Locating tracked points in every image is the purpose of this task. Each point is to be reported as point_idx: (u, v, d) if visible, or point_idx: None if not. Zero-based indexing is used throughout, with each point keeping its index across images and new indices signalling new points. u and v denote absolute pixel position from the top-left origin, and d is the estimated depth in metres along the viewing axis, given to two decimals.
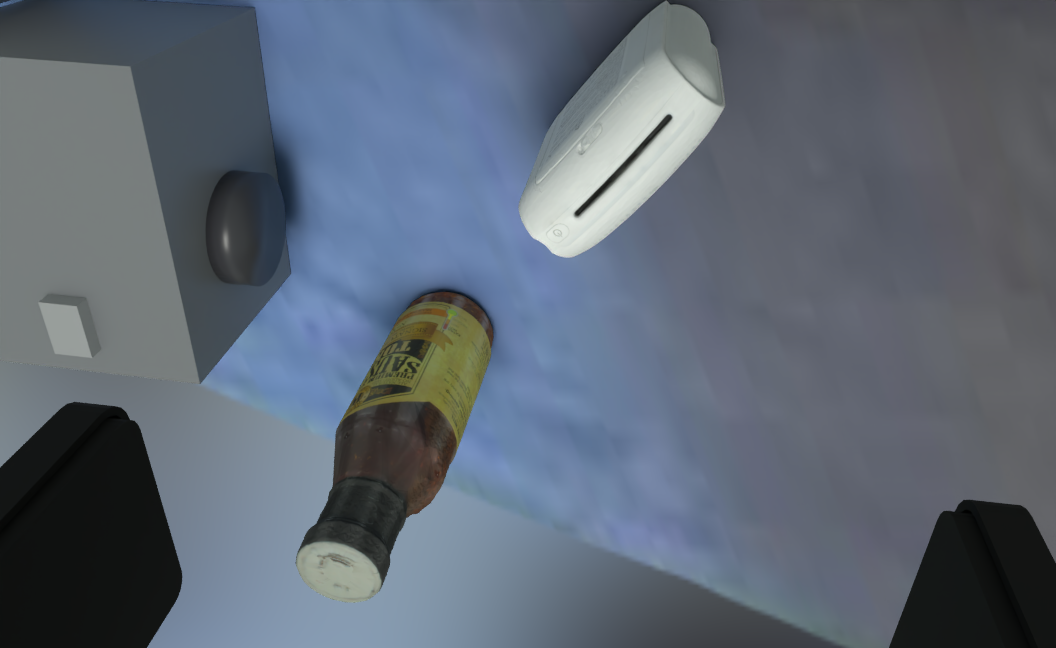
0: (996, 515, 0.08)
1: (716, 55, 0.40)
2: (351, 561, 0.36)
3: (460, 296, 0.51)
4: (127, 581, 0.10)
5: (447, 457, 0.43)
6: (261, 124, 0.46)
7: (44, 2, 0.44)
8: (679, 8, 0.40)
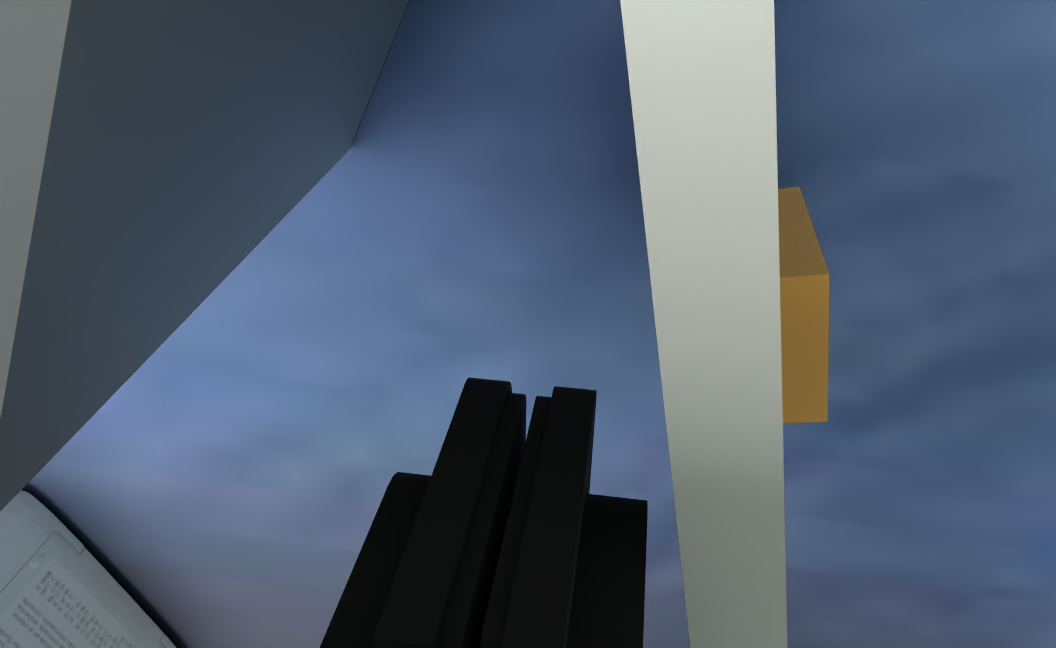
0: (567, 396, 0.10)
1: None
2: None
3: None
4: None
5: None
6: None
7: None
8: None
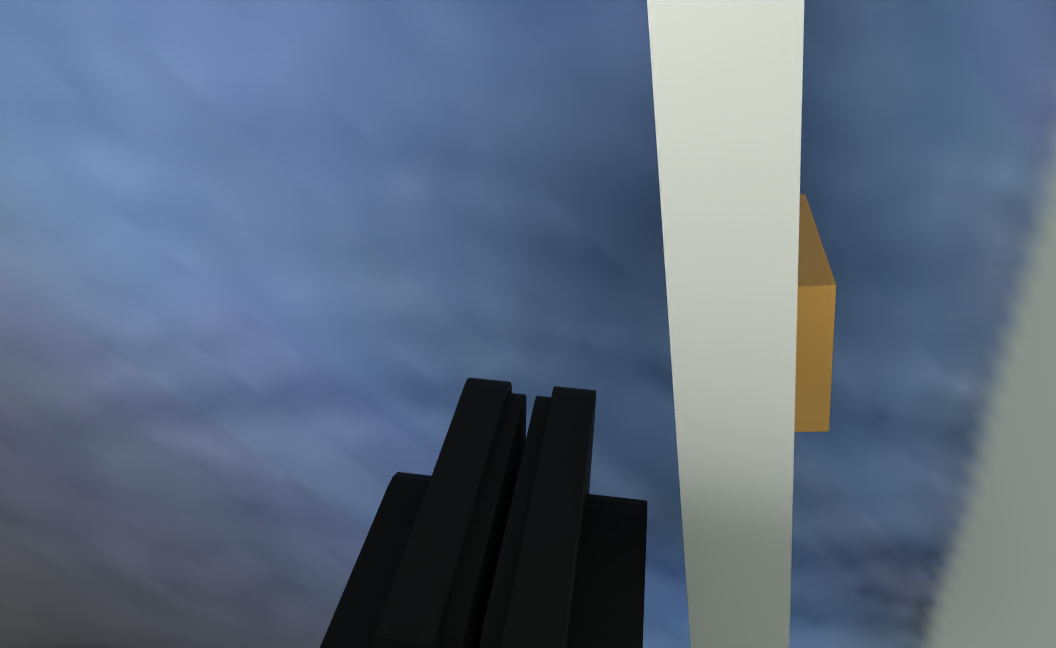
0: (567, 396, 0.10)
1: None
2: None
3: None
4: None
5: None
6: None
7: None
8: None
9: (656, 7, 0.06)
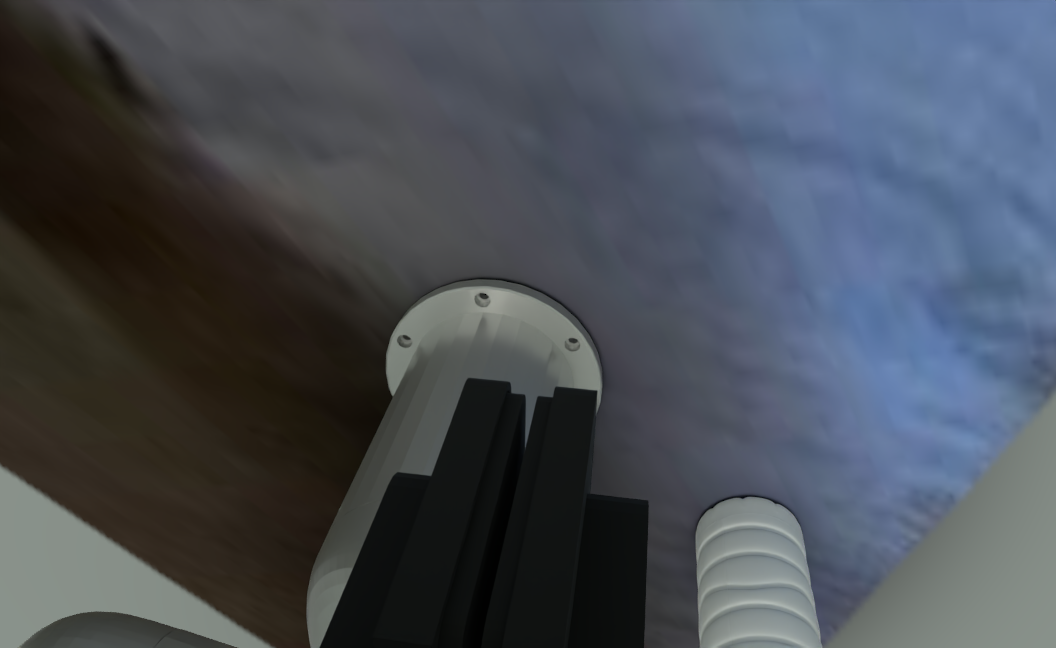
0: (568, 396, 0.10)
1: None
2: None
3: None
4: None
5: None
6: None
7: None
8: None
9: None
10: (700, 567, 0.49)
